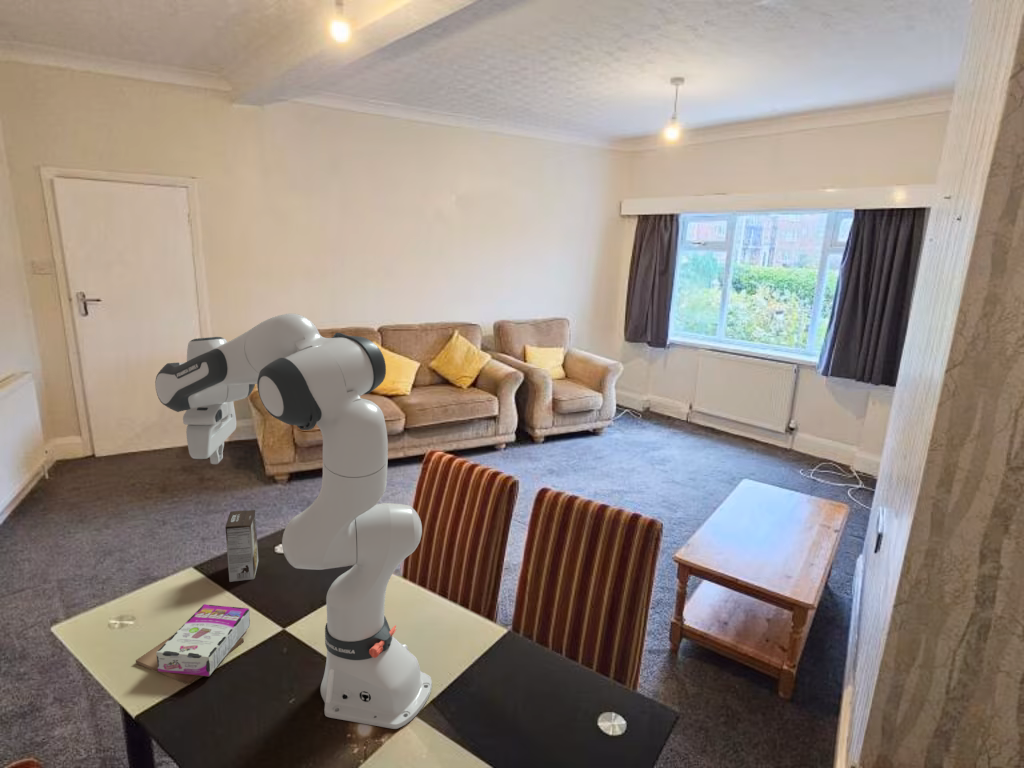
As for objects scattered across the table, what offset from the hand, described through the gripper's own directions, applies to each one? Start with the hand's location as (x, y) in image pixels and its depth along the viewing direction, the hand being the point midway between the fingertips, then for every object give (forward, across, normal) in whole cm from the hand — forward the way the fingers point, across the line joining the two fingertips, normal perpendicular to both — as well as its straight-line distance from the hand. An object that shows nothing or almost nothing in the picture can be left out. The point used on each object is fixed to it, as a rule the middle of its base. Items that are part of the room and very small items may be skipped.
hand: (216, 461), depth 132 cm
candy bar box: (+33, +12, +4) cm, 35 cm away
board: (+36, +21, -1) cm, 41 cm away
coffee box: (+37, -11, +1) cm, 39 cm away
